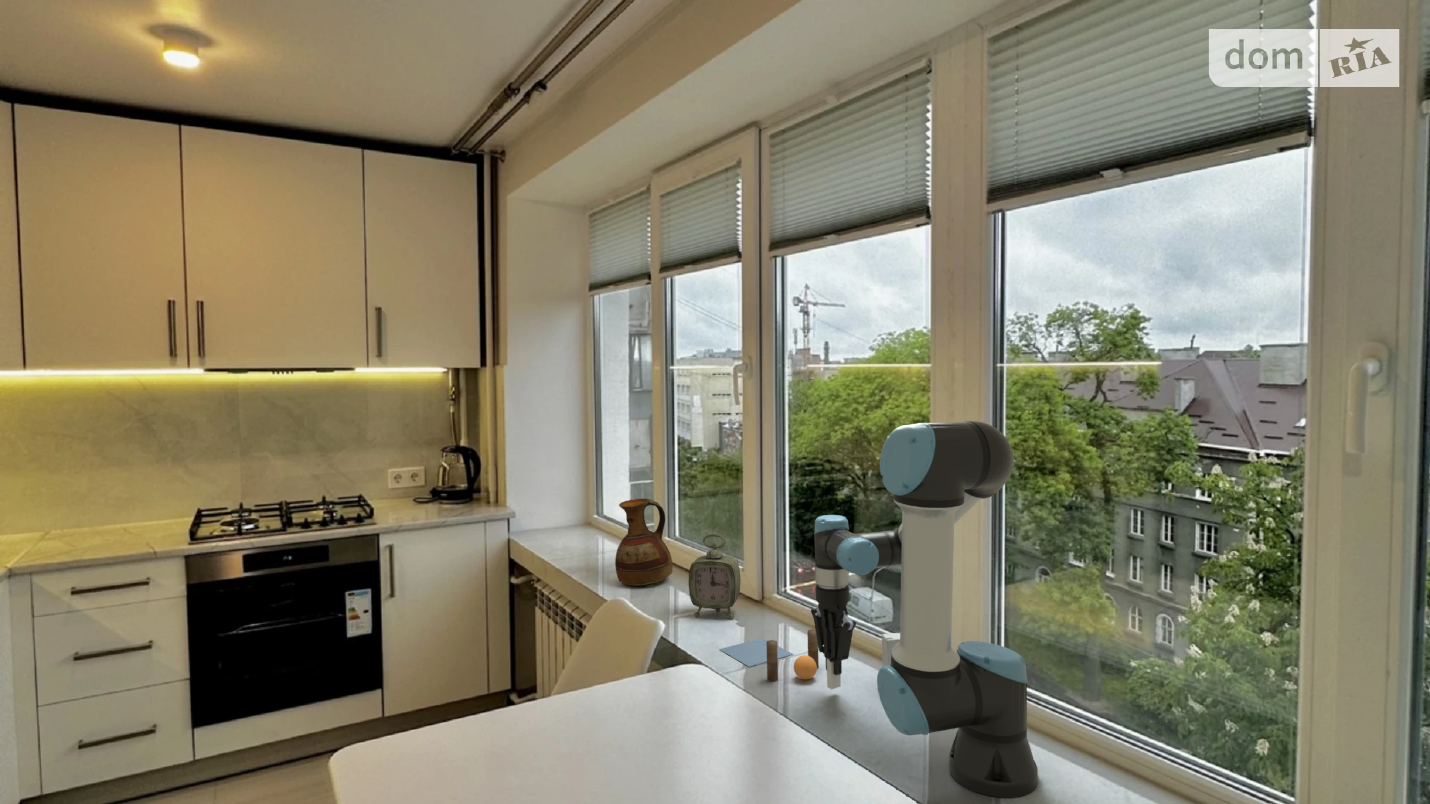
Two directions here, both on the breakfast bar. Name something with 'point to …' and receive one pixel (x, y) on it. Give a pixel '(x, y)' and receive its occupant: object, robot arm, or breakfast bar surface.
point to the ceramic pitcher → (642, 547)
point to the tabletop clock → (714, 580)
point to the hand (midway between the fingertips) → (833, 686)
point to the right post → (813, 646)
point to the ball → (805, 667)
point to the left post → (772, 660)
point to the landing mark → (752, 652)
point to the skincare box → (888, 646)
